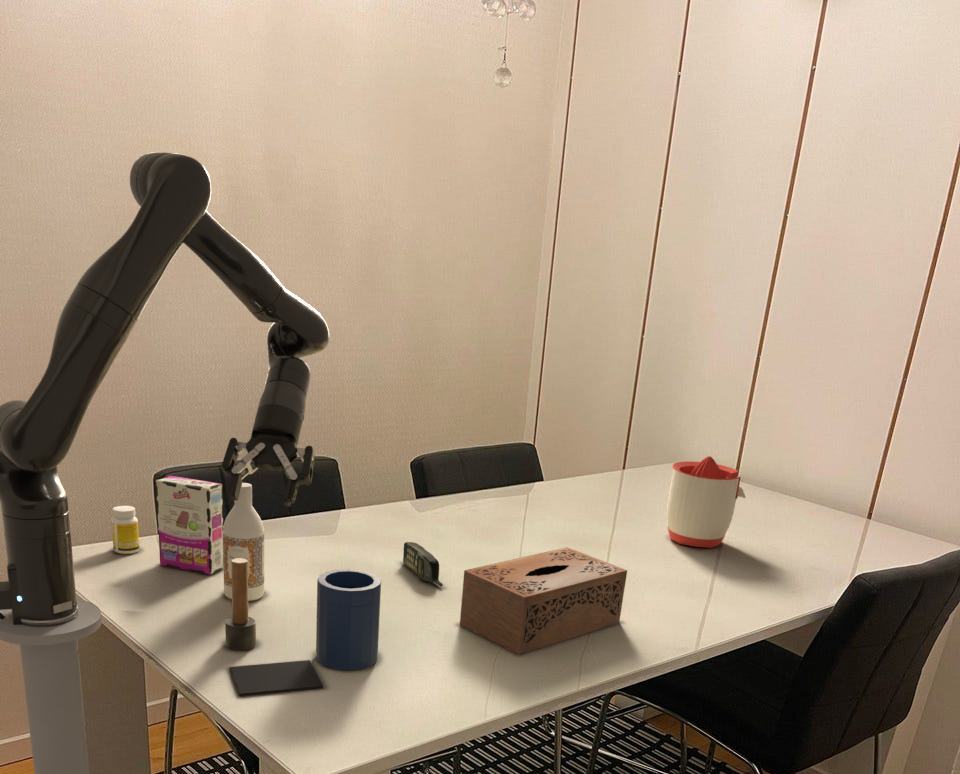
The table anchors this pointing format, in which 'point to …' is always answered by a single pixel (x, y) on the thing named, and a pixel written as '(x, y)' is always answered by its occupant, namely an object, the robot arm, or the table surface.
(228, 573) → the bath foam
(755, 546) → the table surface
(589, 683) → the table surface
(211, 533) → the candy bar box
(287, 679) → the mat
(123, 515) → the supplement bottle
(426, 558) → the mobile phone
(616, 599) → the tissue box cover
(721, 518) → the citrus juicer
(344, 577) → the blue pen holder
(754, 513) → the table surface
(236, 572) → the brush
